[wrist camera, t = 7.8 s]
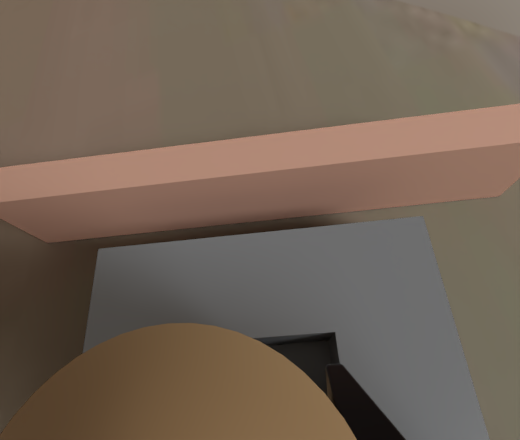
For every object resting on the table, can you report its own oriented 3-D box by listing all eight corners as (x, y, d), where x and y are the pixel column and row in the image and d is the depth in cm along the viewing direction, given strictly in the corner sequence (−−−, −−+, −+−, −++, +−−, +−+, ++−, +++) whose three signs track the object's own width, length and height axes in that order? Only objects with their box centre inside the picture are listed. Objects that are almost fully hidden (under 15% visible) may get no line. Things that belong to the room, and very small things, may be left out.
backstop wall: (498, 196, 18) (564, 137, 14) (47, 242, 20) (-27, 205, 16) (486, 165, 19) (543, 100, 15) (54, 213, 21) (-14, 169, 17)
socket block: (494, 633, 11) (582, 751, 8) (103, 636, 13) (23, 742, 9) (397, 248, 17) (423, 216, 14) (138, 273, 18) (98, 248, 15)
